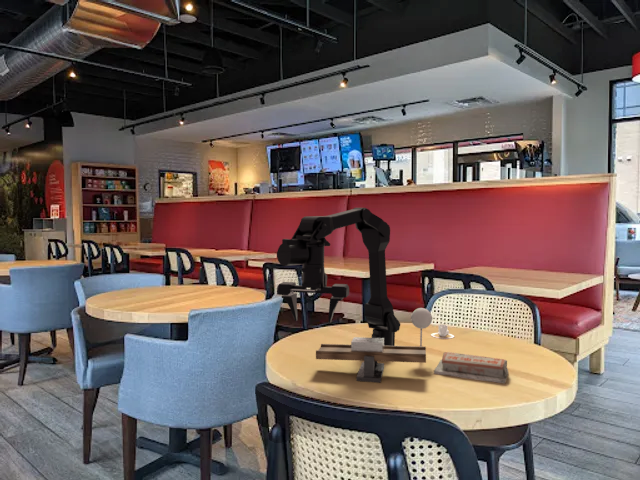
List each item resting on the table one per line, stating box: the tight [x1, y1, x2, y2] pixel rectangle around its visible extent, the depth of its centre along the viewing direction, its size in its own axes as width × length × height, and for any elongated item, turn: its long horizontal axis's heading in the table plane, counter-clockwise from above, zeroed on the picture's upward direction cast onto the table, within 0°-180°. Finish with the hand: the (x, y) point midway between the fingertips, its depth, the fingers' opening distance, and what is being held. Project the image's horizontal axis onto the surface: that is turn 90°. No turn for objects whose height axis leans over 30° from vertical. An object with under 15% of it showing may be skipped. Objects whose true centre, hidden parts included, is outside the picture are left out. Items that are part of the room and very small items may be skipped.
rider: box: [350, 336, 384, 352], centre depth 130 cm, size 8×5×3 cm, turn 78°
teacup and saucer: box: [430, 323, 455, 340], centre depth 173 cm, size 9×8×4 cm
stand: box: [356, 355, 385, 383], centre depth 131 cm, size 6×13×6 cm, turn 169°
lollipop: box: [410, 307, 433, 347], centre depth 144 cm, size 6×6×15 cm
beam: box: [315, 343, 427, 364], centre depth 131 cm, size 28×8×2 cm, turn 79°
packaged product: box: [433, 351, 509, 384], centre depth 132 cm, size 18×5×10 cm
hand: (312, 321), depth 134 cm, fingers open, 9 cm apart
